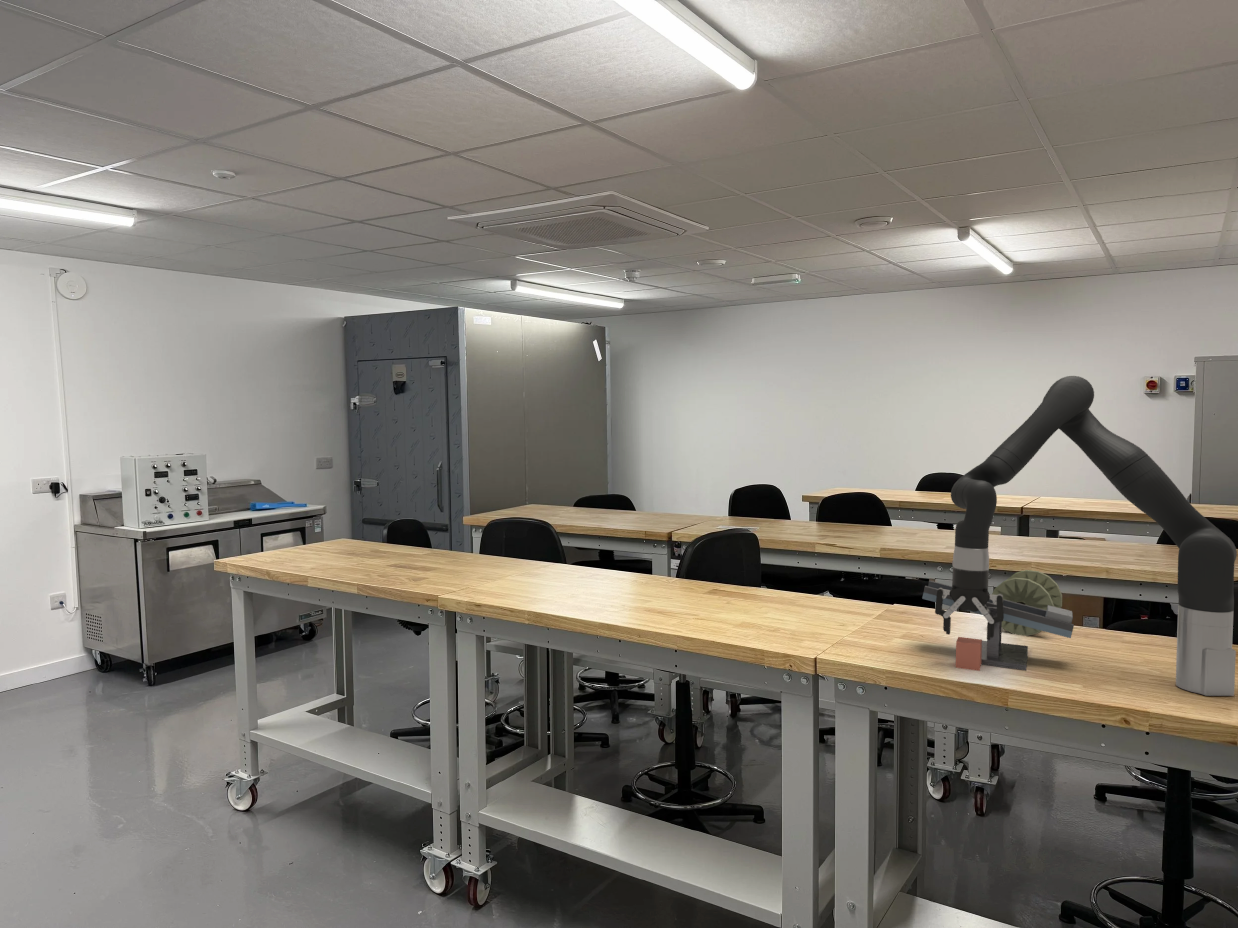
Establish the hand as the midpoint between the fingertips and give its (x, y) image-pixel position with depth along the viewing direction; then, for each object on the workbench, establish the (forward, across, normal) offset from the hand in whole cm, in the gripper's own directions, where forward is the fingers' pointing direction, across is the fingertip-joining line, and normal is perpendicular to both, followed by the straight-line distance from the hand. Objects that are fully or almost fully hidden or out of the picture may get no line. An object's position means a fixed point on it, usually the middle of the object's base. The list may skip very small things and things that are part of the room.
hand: (968, 636), depth 178 cm
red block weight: (+7, 0, 0) cm, 7 cm away
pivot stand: (+7, -5, -12) cm, 14 cm away
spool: (+7, -11, -45) cm, 47 cm away
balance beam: (-4, -5, -12) cm, 13 cm away
